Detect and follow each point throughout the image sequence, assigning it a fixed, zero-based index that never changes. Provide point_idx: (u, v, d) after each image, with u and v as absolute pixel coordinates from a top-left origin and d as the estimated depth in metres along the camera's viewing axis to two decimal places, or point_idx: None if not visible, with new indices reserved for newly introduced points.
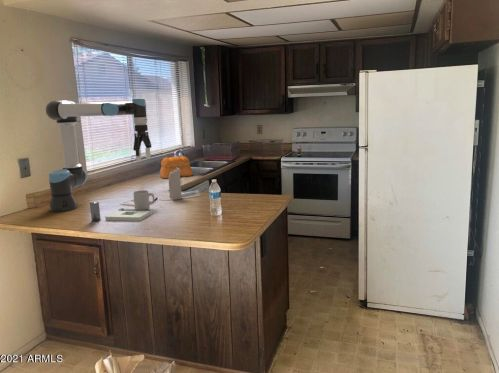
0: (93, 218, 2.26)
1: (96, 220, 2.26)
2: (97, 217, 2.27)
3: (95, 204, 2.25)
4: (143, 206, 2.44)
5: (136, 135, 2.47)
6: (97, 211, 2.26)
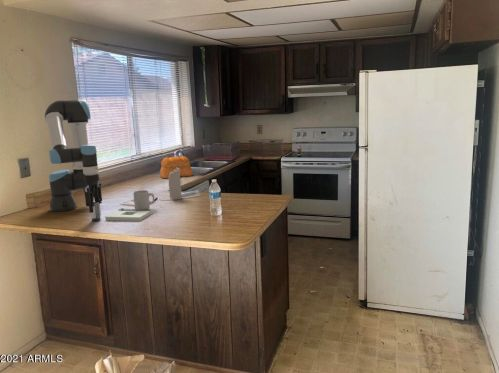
0: (93, 218, 2.26)
1: (96, 220, 2.26)
2: (97, 217, 2.27)
3: (95, 204, 2.25)
4: (143, 206, 2.44)
5: (85, 190, 2.19)
6: (97, 211, 2.26)
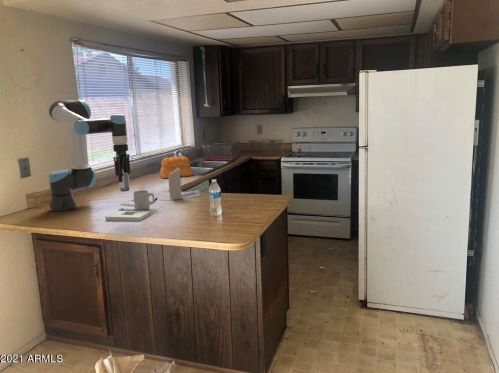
0: (122, 188, 2.28)
1: (125, 190, 2.29)
2: (126, 187, 2.29)
3: (124, 174, 2.27)
4: (143, 206, 2.44)
5: (115, 159, 2.21)
6: (126, 181, 2.28)
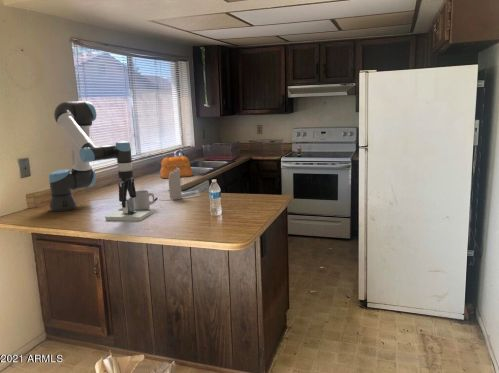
0: (127, 214, 2.32)
1: None
2: (131, 213, 2.32)
3: (129, 200, 2.31)
4: (143, 206, 2.44)
5: (120, 185, 2.24)
6: (131, 207, 2.32)
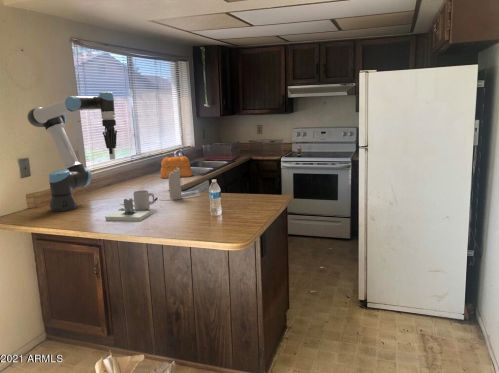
0: (127, 214, 2.32)
1: None
2: (131, 213, 2.32)
3: (129, 200, 2.31)
4: (143, 206, 2.44)
5: (104, 134, 2.43)
6: (131, 207, 2.32)
